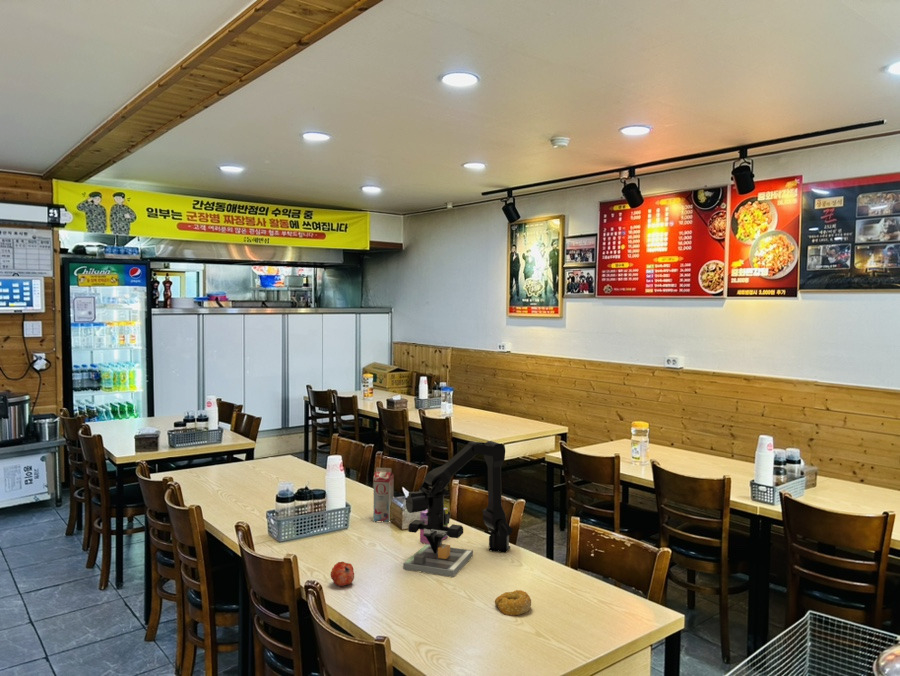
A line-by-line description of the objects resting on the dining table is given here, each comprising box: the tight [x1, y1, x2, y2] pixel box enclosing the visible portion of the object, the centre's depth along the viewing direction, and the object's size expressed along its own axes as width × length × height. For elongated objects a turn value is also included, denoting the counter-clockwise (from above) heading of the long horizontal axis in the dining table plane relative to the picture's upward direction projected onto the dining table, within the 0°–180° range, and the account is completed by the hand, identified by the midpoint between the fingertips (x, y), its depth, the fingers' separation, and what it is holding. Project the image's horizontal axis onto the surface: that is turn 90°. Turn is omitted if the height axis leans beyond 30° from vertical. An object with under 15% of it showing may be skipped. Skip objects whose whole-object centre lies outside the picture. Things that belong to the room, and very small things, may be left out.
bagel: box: [494, 589, 532, 616], centre depth 186 cm, size 10×11×5 cm
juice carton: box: [373, 467, 395, 523], centre depth 267 cm, size 7×7×22 cm
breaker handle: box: [438, 543, 451, 559], centre depth 220 cm, size 3×4×4 cm
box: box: [419, 506, 449, 545], centre depth 243 cm, size 10×6×12 cm, turn 143°
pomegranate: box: [330, 561, 355, 587], centre depth 203 cm, size 7×7×10 cm
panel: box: [402, 540, 474, 578], centre depth 221 cm, size 18×20×4 cm
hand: (435, 553), depth 222 cm, fingers closed
